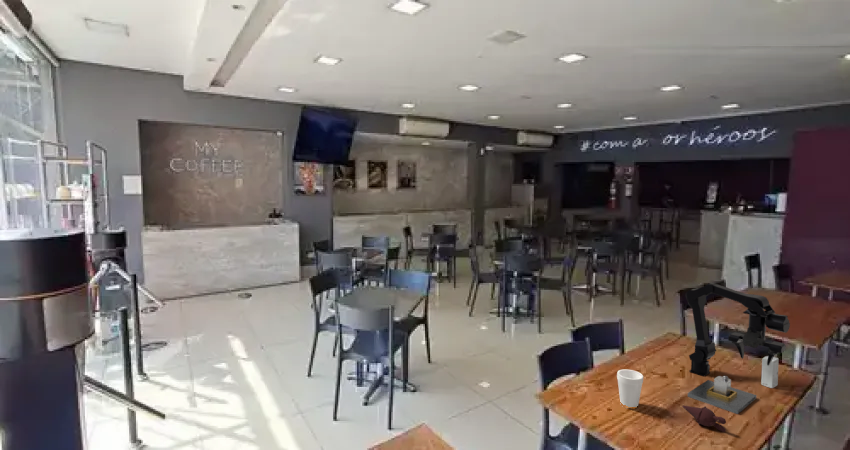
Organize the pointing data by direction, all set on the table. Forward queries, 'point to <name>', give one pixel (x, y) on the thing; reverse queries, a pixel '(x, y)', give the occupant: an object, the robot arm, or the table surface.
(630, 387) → the foam cup
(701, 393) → the grey peg insertion board
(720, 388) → the brushed metal block
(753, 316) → the robot arm
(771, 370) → the skincare box
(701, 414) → the icecream
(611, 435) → the table surface
